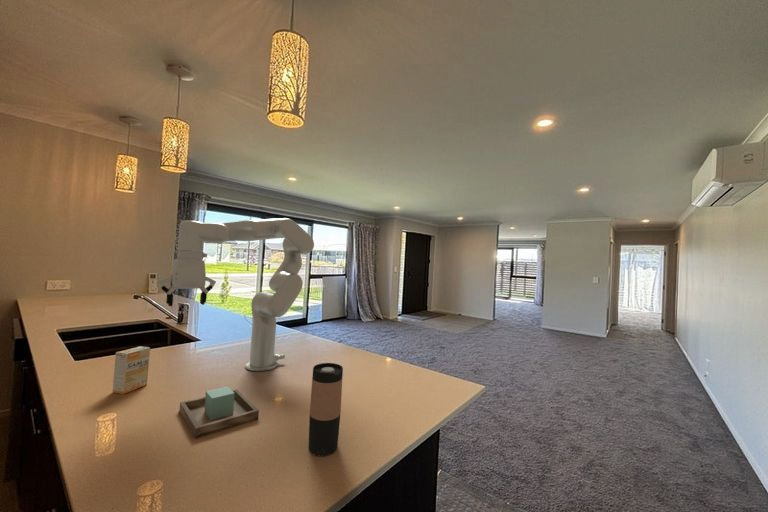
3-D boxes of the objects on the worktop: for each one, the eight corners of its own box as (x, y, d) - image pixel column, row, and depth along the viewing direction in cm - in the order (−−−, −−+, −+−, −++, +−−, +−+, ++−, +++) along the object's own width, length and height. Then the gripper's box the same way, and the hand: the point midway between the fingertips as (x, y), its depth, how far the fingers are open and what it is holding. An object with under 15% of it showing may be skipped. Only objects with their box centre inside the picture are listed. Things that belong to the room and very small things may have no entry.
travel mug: (310, 438, 81) (314, 362, 82) (339, 438, 82) (344, 363, 82) (305, 457, 74) (310, 372, 74) (337, 457, 74) (342, 373, 75)
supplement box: (123, 394, 99) (126, 353, 99) (111, 392, 100) (114, 352, 100) (148, 385, 107) (150, 347, 107) (136, 383, 108) (139, 345, 108)
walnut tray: (236, 396, 102) (236, 389, 102) (258, 418, 89) (258, 410, 90) (179, 410, 91) (180, 402, 91) (195, 438, 78) (195, 428, 78)
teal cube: (226, 405, 95) (227, 386, 95) (233, 413, 90) (234, 393, 90) (204, 411, 90) (205, 391, 91) (210, 420, 86) (212, 398, 86)
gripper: (214, 257, 117) (210, 302, 117) (158, 254, 105) (154, 304, 105) (220, 257, 112) (217, 305, 111) (162, 254, 100) (158, 308, 99)
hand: (186, 304), depth 108 cm, fingers open, 9 cm apart
